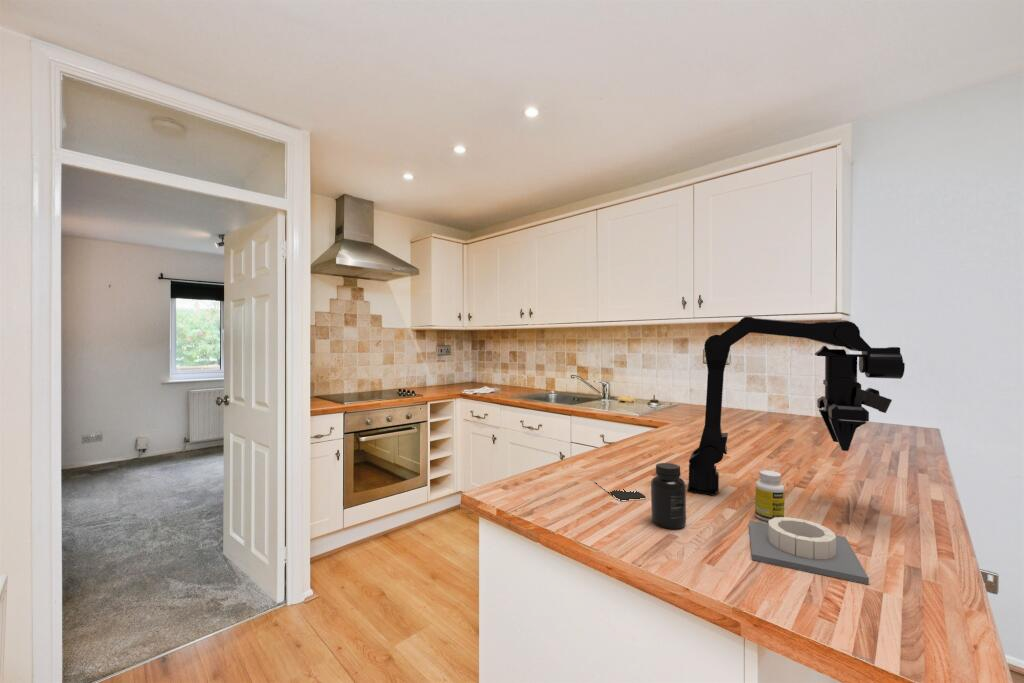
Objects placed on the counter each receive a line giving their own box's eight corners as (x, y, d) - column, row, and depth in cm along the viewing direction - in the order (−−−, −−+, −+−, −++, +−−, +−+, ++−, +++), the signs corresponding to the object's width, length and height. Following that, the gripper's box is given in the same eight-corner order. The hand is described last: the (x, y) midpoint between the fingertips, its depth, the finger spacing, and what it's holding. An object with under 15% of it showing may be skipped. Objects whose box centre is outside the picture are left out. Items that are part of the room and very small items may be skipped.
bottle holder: (751, 559, 74) (752, 536, 74) (749, 524, 88) (749, 505, 88) (868, 584, 67) (869, 559, 67) (845, 542, 81) (845, 521, 81)
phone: (617, 478, 117) (647, 497, 103) (617, 481, 117) (647, 500, 103) (592, 480, 115) (619, 499, 101) (592, 483, 115) (619, 503, 101)
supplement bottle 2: (774, 525, 88) (774, 478, 88) (749, 515, 93) (749, 471, 93) (789, 520, 91) (790, 474, 91) (764, 511, 96) (765, 467, 95)
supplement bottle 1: (684, 518, 91) (685, 463, 91) (686, 532, 85) (687, 472, 85) (651, 514, 94) (651, 459, 93) (650, 527, 87) (651, 468, 87)
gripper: (902, 382, 84) (901, 461, 84) (874, 375, 100) (874, 441, 100) (832, 379, 89) (831, 454, 89) (817, 373, 105) (816, 436, 105)
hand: (840, 446), depth 96 cm, fingers open, 9 cm apart
